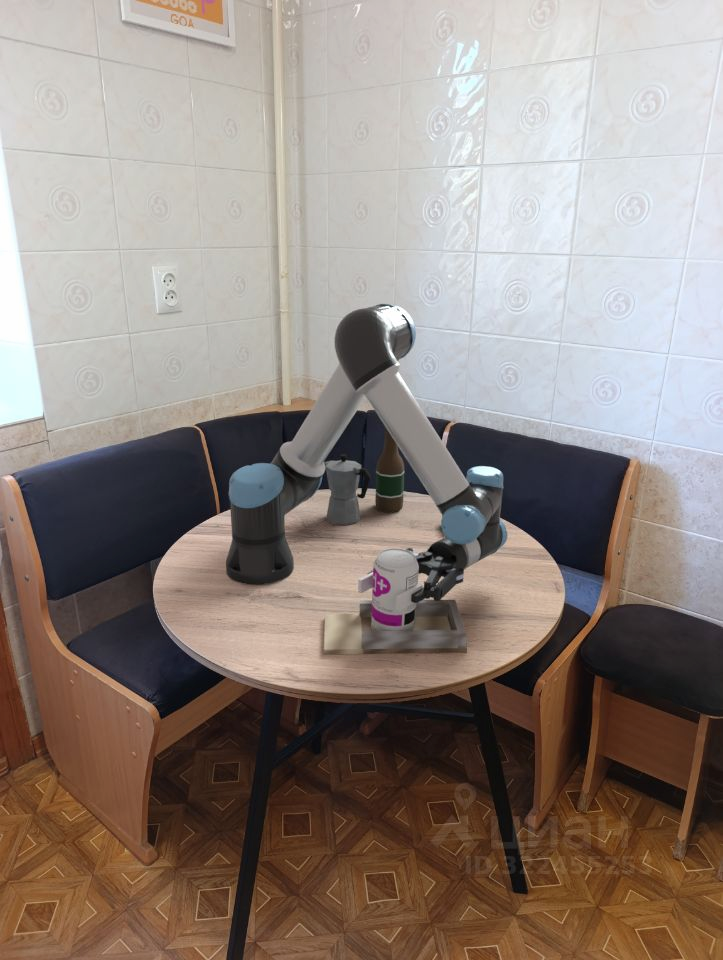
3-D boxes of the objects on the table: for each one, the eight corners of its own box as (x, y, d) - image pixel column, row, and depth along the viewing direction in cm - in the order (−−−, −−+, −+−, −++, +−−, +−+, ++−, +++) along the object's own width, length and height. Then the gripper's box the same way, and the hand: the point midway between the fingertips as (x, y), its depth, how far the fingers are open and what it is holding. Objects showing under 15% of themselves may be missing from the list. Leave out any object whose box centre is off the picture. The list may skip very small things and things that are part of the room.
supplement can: (381, 644, 119) (385, 571, 114) (364, 620, 126) (366, 550, 121) (421, 636, 122) (427, 564, 117) (402, 613, 129) (407, 544, 124)
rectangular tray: (324, 654, 119) (323, 635, 118) (325, 618, 131) (324, 600, 129) (467, 652, 120) (468, 633, 119) (455, 617, 132) (457, 599, 130)
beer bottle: (408, 507, 185) (411, 424, 177) (390, 515, 180) (393, 430, 171) (387, 500, 190) (389, 419, 182) (369, 507, 185) (370, 424, 176)
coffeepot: (313, 517, 178) (312, 453, 172) (336, 507, 185) (336, 445, 179) (358, 532, 169) (358, 466, 163) (380, 521, 176) (381, 457, 170)
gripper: (496, 588, 128) (423, 636, 112) (411, 554, 141) (336, 592, 126) (499, 553, 125) (425, 597, 110) (413, 522, 139) (336, 557, 123)
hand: (378, 594), depth 118 cm, fingers closed on supplement can, 8 cm apart
